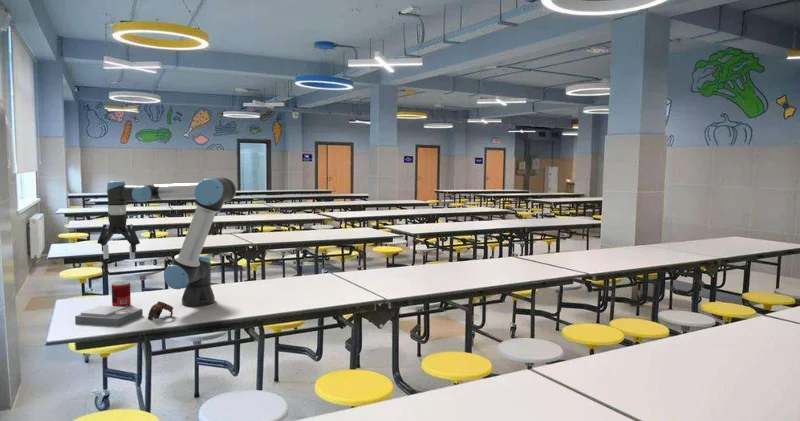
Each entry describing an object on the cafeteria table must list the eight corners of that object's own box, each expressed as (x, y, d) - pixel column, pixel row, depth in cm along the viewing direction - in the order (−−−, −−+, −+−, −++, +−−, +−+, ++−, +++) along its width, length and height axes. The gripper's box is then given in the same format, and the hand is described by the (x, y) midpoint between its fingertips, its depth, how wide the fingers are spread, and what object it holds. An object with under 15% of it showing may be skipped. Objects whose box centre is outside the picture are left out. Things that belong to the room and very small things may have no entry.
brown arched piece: (148, 316, 239) (158, 299, 241) (168, 325, 240) (177, 308, 242) (141, 317, 227) (152, 299, 229) (162, 326, 228) (172, 308, 230)
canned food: (134, 303, 258) (133, 281, 257) (124, 308, 250) (123, 284, 249) (119, 303, 258) (118, 280, 258) (108, 307, 251) (107, 284, 250)
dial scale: (142, 315, 238) (142, 306, 238) (118, 326, 222) (118, 316, 222) (102, 312, 241) (101, 304, 241) (75, 323, 226) (75, 313, 225)
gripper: (146, 213, 252) (148, 258, 254) (98, 213, 256) (100, 256, 258) (136, 215, 245) (138, 261, 247) (87, 214, 249) (89, 259, 250)
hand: (119, 259), depth 252 cm, fingers open, 13 cm apart
